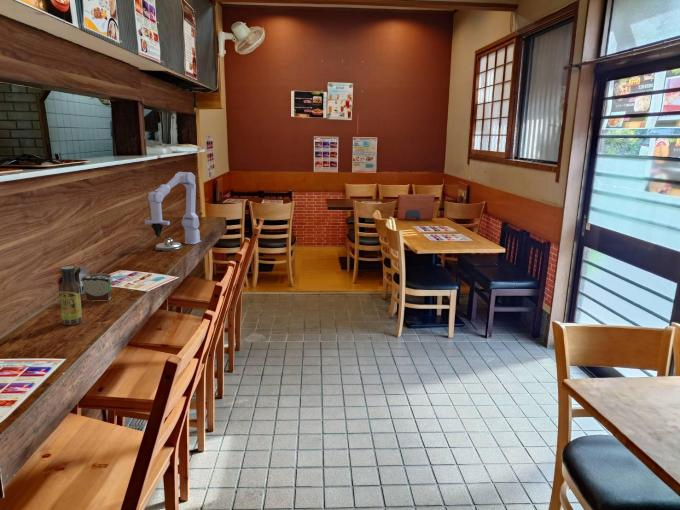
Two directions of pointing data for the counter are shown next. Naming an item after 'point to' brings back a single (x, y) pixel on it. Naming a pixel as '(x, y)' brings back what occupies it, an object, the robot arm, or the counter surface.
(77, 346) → the counter surface
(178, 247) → the turntable base
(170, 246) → the turntable
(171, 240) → the lid
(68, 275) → the sauce bottle
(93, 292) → the food container
